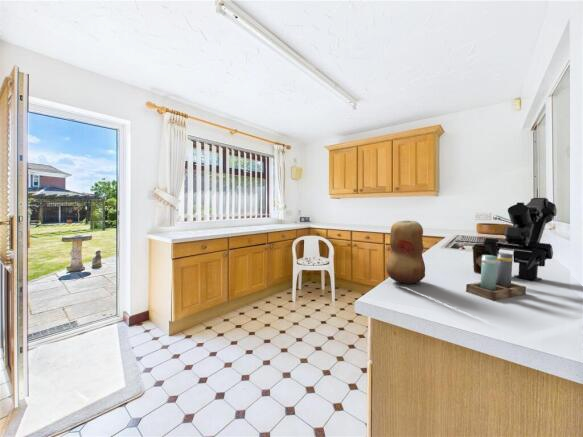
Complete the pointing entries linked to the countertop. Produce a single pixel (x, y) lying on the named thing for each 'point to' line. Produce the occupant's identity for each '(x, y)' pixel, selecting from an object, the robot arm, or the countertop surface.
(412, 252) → the butternut squash
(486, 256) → the plug teal
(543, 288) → the countertop surface
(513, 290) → the slot rack
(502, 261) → the plug charcoal
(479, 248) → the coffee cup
